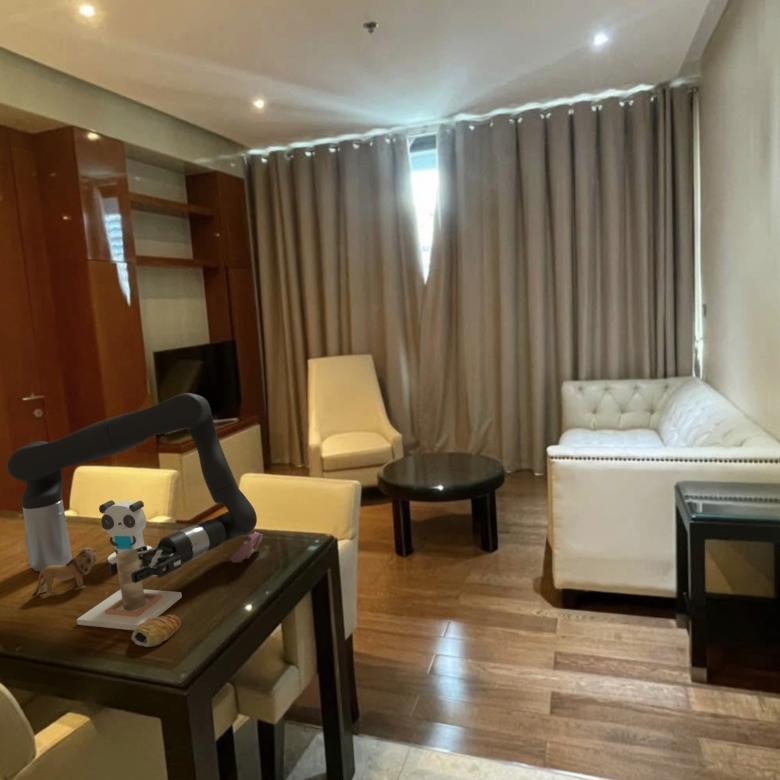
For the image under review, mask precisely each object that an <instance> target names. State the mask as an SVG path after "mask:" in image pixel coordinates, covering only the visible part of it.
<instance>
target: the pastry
mask: <svg viewBox="0 0 780 780" xmlns="http://www.w3.org/2000/svg"><path fill="white" fill-rule="evenodd" d="M181 625H182V621H181V618H180V617H179V616H177V615H176V614H166V615H160V616H158V617H157V618H154V619H148V620H147V621H146V622H145V623H141V624H139V626H138V628H135V630H133V632H132V635H131V640H132V642H133V643H134V644H135V645H136V644H137V646H142V647H145V648H152V647H156V646H159V645H161V644H162V643H163V642H164V641H167V640H170V638H171V637H173V635H174V634H175V633H177V632H178V631H179V630H180V627H181Z"/></svg>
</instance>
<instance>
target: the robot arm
mask: <svg viewBox="0 0 780 780" xmlns="http://www.w3.org/2000/svg"><path fill="white" fill-rule="evenodd" d="M178 430H187V432H188V434H189V435H190V436H191V438H192V441H193V442H194V445H195V448H196V450H197V453H198V458H199V463H200V469H201V472H202V476H203V479H204V482H205V484H206V487H207V489H208V493H209V494H210V496H211V498H212V501H213V502H214V503H215V504H217V505H223V506H224V507H225V508H226V509H227V511H225V512H224V513H221V514H220V515H218V516H216V517H214V518H212V519H211V518H210V519H207V520H204V521H202V522H200V523H197V524H194V525H192V526H189V527H185V528H182V529H181V530H178V531H176V532H174V533H172V534H169V535H167V536H164V537H162V538H161V539H160V540H159V543H158V545H157V547H152V548H151V549H148V550H147V546H148V545H146V546H143V547H140V548H138V549H135V550H137V551H138V558H139V564H140V569H139V570H137V571H135V572H133V573H132V574H131V578H132V582H134V583H137V582H139V581H141V580H142V581H143V580H145V579H148V578H149V577H150V578H153V577H155V576H157V578H162V577H164V576H166V575H168V574H170V573H172V572H174V571H177V570H178V569H180V568H182V566H183V565H184V564H186V563H188V562H191V561H193V560H194V559H197V558H198V557H201V556H202V555H204V554H205V553H208V552H209V551H211V550H214V549H215V548H217V547H219V546H221V545H222V544H224V543H225V542H229V541H230V540H233V539H235V538H237V537H241V536H242V535H245V534H247V533H249V532H251V531H253V530H254V529H255V528H256V526H257V522H258V520H257V519H258V516H257V513H256V511H255V508H254V506H253V505H252V503H251V502H250V501H249V499H248V498H247V496H245V494H244V493H243V492H242V491H241V489H240V488H239V486H238V483H237V481H236V478H235V476H234V474H233V472H232V469H231V467H230V465H229V463H228V460H227V458H226V456H225V453H224V450H223V448H222V445H221V442H220V440H219V437H218V433H217V430H216V426H215V422H214V419H213V414H212V409H211V407H210V404H209V402H208V400H207V399H206V398H205V397H204V396H201V395H199V394H196V393H191V392H185V393H179V394H177V395H174V396H172V397H170V398H168V399H166V400H164V401H161V402H158V403H157V404H154V405H152V406H150V407H149V406H148V407H147V408H144V409H141V410H140V409H139V410H135V411H131V412H127V413H123V414H120V415H119V414H118V415H117V416H113V417H110V418H107V419H104V420H100V421H98V422H95V423H92V424H89V425H87V426H86V427H83V428H80V429H79V430H76V431H74V432H72V433H70V434H68V435H66V436H64V437H62V438H58V439H56V440H53V441H51V442H50V441H49V442H48V441H44V440H37V441H34V442H31V443H29V444H26V445H24V446H22V447H19V448H18V449H16V450H15V451H14V452H13V453H12V454H11V456H9V458H8V461H7V471H8V474H9V475H10V476H11V477H12V478H14V479H15V480H17V481H20V482H25V483H26V485H25V489H24V491H23V493H22V495H21V497H20V499H21V500H20V501H21V502H20V503H21V508H22V512H23V518H24V523H25V529H26V532H25V533H24V539H25V546H26V552H27V556H28V562H29V563H28V564H29V568H30V569H33V571H34V572H38V571H39V572H38V573H40V572H41V571H42V569H43V568H45V567H47V566H50V565H57V566H58V565H65V564H67V563H69V562H70V561H71V559H73V556H72V554H73V553H72V549H71V541H70V537H69V536H70V535H69V531H68V524H67V519H66V514H65V508H64V507H65V506H64V501H63V495H62V493H63V489H64V482H63V481H64V480H63V472H62V471H63V470H62V469H66V468H68V467H72V466H74V465H79V464H83V463H89V462H91V461H95V460H99V459H102V458H106V457H109V456H113V455H116V454H119V453H122V452H124V451H127V450H128V451H129V450H130V449H132V448H135V447H136V446H138V445H140V444H142V443H144V442H145V441H147V440H148V439H150V438H153V437H155V436H157V435H161V434H166V433H169V432H174V431H178ZM141 559H142V560H141ZM164 569H165V570H164ZM108 570H109V571H108V572H109V574H110V575H112V576H114V575H116V574H118V569H117V563H114V564H111V563H110V565H109V566H108Z"/></svg>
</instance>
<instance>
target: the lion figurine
mask: <svg viewBox="0 0 780 780" xmlns="http://www.w3.org/2000/svg"><path fill="white" fill-rule="evenodd" d="M97 560H98V556H97V553H96V549H95V548H92V547H85V548H83V549H82V550H80V551H79V553H78V554H77V555H75V556H74V557H72V559H71V561H70V562H69V563H67V564H65V565H58V566H57V565H50V566H47V567H45V568H43V569H42V571H41V572H39V575H38V580H37V587H36V590H35V591H34V592H33V594H32V595H31V597H35V596H37V595H38V593H39V591H40V592H41V594H43V593H44V592H45V593H47V592H48V593H49V594H50V595H51V596H52V597H54V596H57V595H58V592H57V591H54V590H53V588H52V587H53V583H54V578H55V579H58V580H62V581H63V580H64V581H65V580H71V579H73V578H75V580H76V584H77V586H78V588H79V590H80V589H81V590H84V588H85V589H86V588H87V587H86V585H84V584H85V582H84V581H83V577H84V576H86V575H88V574H89V573H90V572H91V570H92V569H93V567H94V566H95V565H96V564H97ZM42 578H43V580H42ZM46 586H47V587H46ZM45 587H46V588H45ZM46 591H47V592H46Z"/></svg>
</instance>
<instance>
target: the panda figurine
mask: <svg viewBox="0 0 780 780" xmlns="http://www.w3.org/2000/svg"><path fill="white" fill-rule="evenodd" d="M144 506H145V504H144V501H142V500H137V501H136V502H135V501H130V500H122V501H119V502H117V503H115V501H114V500H112V499H111V500H108V501H107V502H105V503H103V504H101V505H99V506H98V510H99V511H98V512H99V513H100V514H103V515H102V516H101V521H100V522H101V526H102V528H103V530H105V532H106V534H108V535H109V536H110V538H109V542H110V544H111V545H112V546H114V547H113V548H114V552H113V553H111V554H110V555H109V556H107V562H108V563H109V564H110V565H111V564H114V563H116V555H117V554H118V553H120V552H122V551H126V550H135V549H138V548H140V547H143V546H147V550H148V549H151V548H153V547H152V546H150V545H145V541H144V534H143V531H144V530H145V528H146V526H147V525H146V524H147V516H146V514H145V511H144V509H143V507H144ZM140 561H142V559H141V560H140Z"/></svg>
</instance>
